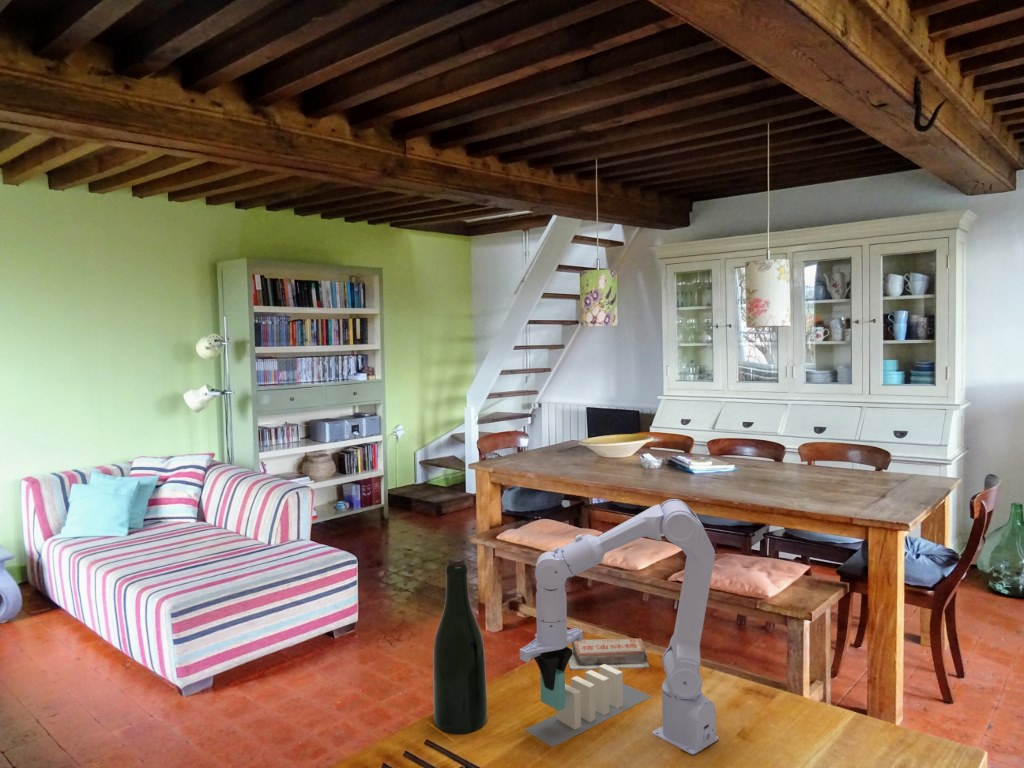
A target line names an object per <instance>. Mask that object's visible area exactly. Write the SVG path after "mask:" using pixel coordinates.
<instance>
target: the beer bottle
mask: <svg viewBox="0 0 1024 768" xmlns="http://www.w3.org/2000/svg"><path fill="white" fill-rule="evenodd" d="M465 559H466V558H465V557H464V556H459V555H456V556H451V557H448V559H447V564H446V565H445V569H444V571H445V585H446V586H445V599H444V600H445V601H444V605H443V606H444V608H443V611H442V613H441V617H440V621H439V623H438V626H437V629H436V632H435V636H434V641H433V652H432V653H433V655H432V657H433V658H432V662H433V663H432V664H433V666H432V667H433V668H432V673H433V674H432V675H433V676H432V678H433V680H432V681H433V685H432V687H433V689H432V690H433V692H432V693H433V719H434V724H435V726H436V728H438V729H439V730H440V731H442V732H444V733H448V734H452V735H464V734H465V735H466V734H470V733H472V732H475V731H478V730H480V729H481V728H482V727H483V726H484V725H485V724H486V722H487V720H488V699H487V698H488V696H487V695H488V694H487V692H488V691H487V677H486V676H487V675H486V672H487V671H486V670H487V669H486V654H485V644H484V643H485V642H484V639H483V634H482V631H481V628H480V625H479V624H478V621H477V618H476V617H475V613H474V611H473V608H472V605H471V604H472V603H471V599H470V593H469V579H468V576H469V575H468V573H469V567H468V563H466V560H465Z"/></svg>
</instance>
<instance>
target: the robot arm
mask: <svg viewBox="0 0 1024 768" xmlns="http://www.w3.org/2000/svg"><path fill="white" fill-rule="evenodd" d="M662 535H663V536H664V537H665V538H666V539H667V541H669V542H670V543H671V544H672V545H674V546H677V547H678V548H680V550H681V551H682V553H684V554H685V556H686V559H685V565H684V570H683V578H682V583H681V589H680V596H679V600H678V601H679V602H678V605H677V606H678V608H677V613H676V618H675V624H674V631H673V634H672V636H671V638H670V640H669V644H668V647H667V649H666V650H665V651H664V653H663V654H662V658H661V664H662V667H663V670H664V672H665V673H664V674H665V679H664V681H663V683H662V685H661V700H662V701H661V703H662V704H661V705H662V706H661V717H662V719H661V721H662V722H661V723H662V724H661V725H662V726H661V727H658V728H656V729H655V730H653V731H652V735H653V736H656V737H658V738H659V739H661V740H664V741H666V742H668V743H669V744H672V745H673V746H675V747H677V748H679V749H681V751H684V752H685V753H688V754H690V755H692V756H694V755H696V754H698V753H699V752H700V751H703V750H704V749H705V748H707V747H709V746H710V745H712V744H713V743H715V742H717V741H719V736H718V735H717V710H716V705H715V703H714V701H712V700H710V699H709V698H708V697H706V696H705V694H704V693H703V691H702V689H703V688H702V687H703V678H702V674H701V672H700V669H701V647H700V646H701V639H702V633H703V630H704V629H703V628H704V622H705V615H706V610H707V604H708V600H709V599H708V597H709V595H710V594H709V593H710V586H711V583H712V582H711V581H712V575H713V570H714V564H715V558H716V551H715V549H714V546H713V544H712V542H711V541H710V540H711V539H710V538H709V536H708V533H707V532H706V530H705V527H704V525H703V524H702V522H701V521H700V519H699V517H698V515H697V514H696V512H695V511H694V510H693V509H692V508H691V507H690V506H689V505H688V504H687V503H685V501H683V500H681V499H677V498H670V499H667V500H665V501H663V502H662V503H661V504H655V505H652V506H651V507H649V508H647V509H646V510H644V511H642V512H640V513H638V514H637V515H635V516H633V517H631V518H630V519H627V520H626V521H624V522H621V523H620V524H618V525H617V526H614V527H613V528H611V529H610V530H607V531H606V532H604V533H602V534H600V535H598V536H597V535H594V534H589V533H588V534H585V535H583V534H582V533H579V534H577V535H576V536H575V540H573V541H571V542H569V543H567V544H564V545H562V546H561V547H558V546H556V547H554V548H552V551H549V550H548V551H545V552H543V553H541V555H539V557H538V558H537V561H536V564H535V569H534V577H535V580H536V592H535V597H536V598H535V599H536V601H535V604H536V606H535V607H536V609H535V611H536V612H535V613H536V633H535V634H534V639H533V640H532V641H530V642H529V643H528V644H526V645H525V646H524V647H523V646H522V648H519V660H521V661H523V662H525V663H529V662H531V659H534V661H535V662H536V664H537V667H538V668H539V671H541V674H542V678H543V681H544V685H545V687H546V688H548V689H550V690H553V689H554V684H555V674H556V669H558V670H560V671H563V672H565V671H566V668H567V665H568V664H569V663H568V661H569V659H570V658H571V656H572V649H570V648H571V647H568V646H569V645H570V644H572V642H575V641H582V640H584V631H583V630H582V629H579V628H577V627H574V628H571V629H568V624H567V623H568V621H567V620H568V617H567V614H568V613H567V609H568V608H567V604H568V603H567V592H566V587H565V585H566V582H567V579H568V578H572V577H575V576H577V575H579V574H580V573H583V572H585V571H587V570H589V569H591V568H593V567H595V566H597V565H599V564H601V563H603V561H604V559H605V555H606V554H607V553H610V552H612V551H613V550H616V549H618V548H621V547H623V546H625V545H627V544H630V543H632V542H635V541H637V540H640V539H641V538H650V539H653V540H658V541H662ZM565 673H566V672H565Z"/></svg>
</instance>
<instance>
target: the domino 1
mask: <svg viewBox="0 0 1024 768" xmlns="http://www.w3.org/2000/svg"><path fill="white" fill-rule="evenodd" d="M539 671H540V670H539ZM539 676H540V702H541V703H543V704H544V705H546V706H548V707H551V708H552V709H554V710H556V711H557V710H558V711H561V710H563V709H565V684H566V672H563V671H560V670H558V669H556V674H555V684H554V689H553V690H550V689H548V688H546V687H545V685H544V681H543V678H542V674H541V671H540V675H539Z"/></svg>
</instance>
